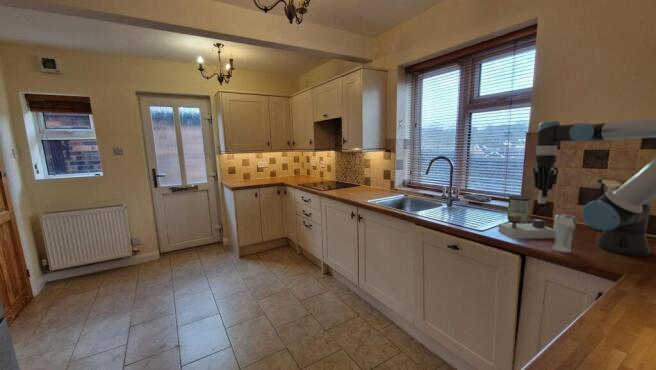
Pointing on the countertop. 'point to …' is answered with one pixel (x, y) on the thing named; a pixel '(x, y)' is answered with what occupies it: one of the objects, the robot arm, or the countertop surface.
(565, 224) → the beer glass
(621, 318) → the countertop surface
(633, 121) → the robot arm
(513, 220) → the knob walnut
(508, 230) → the knob mount
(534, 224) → the knob black
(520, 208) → the coffee can
